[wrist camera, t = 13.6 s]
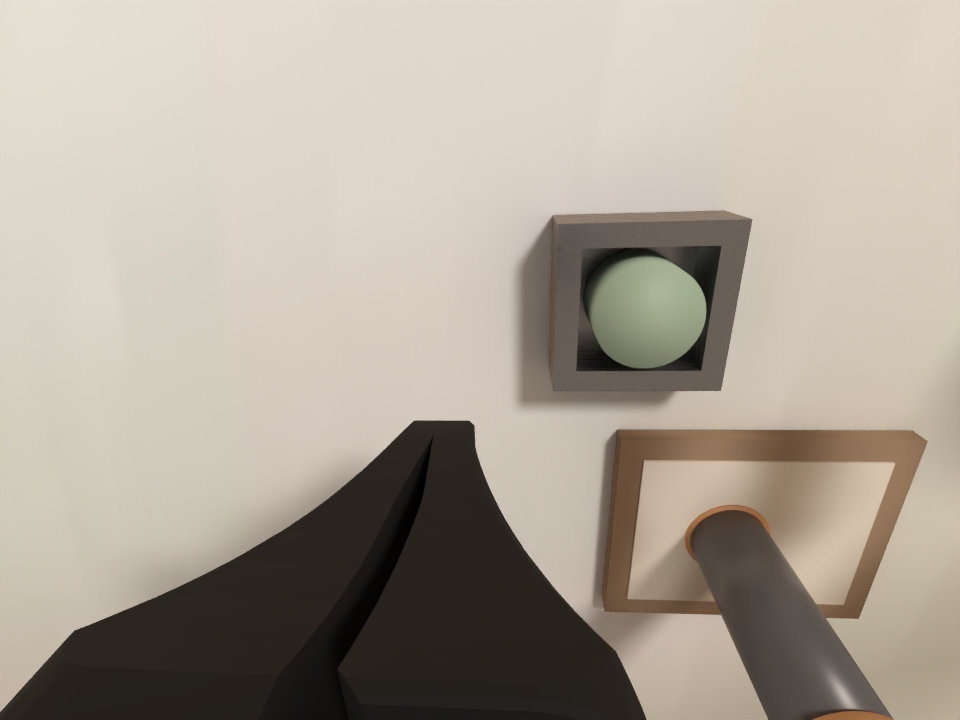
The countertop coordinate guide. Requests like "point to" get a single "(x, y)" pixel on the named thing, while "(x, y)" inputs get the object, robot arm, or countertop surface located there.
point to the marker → (779, 626)
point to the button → (644, 309)
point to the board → (754, 509)
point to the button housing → (682, 240)
